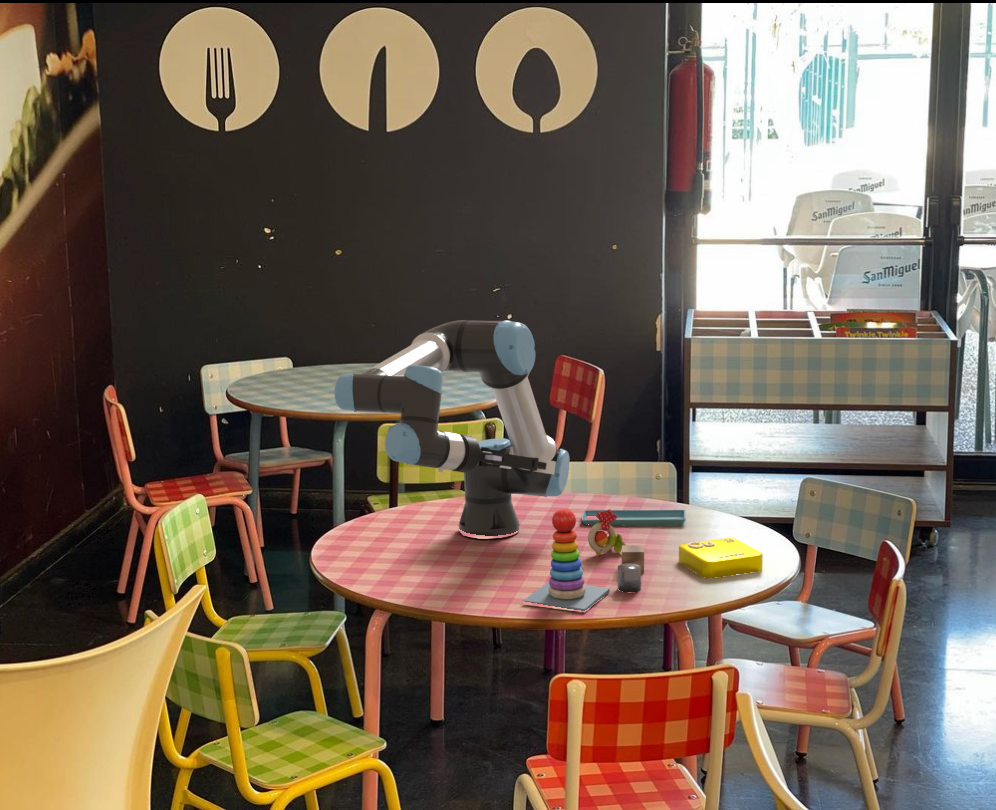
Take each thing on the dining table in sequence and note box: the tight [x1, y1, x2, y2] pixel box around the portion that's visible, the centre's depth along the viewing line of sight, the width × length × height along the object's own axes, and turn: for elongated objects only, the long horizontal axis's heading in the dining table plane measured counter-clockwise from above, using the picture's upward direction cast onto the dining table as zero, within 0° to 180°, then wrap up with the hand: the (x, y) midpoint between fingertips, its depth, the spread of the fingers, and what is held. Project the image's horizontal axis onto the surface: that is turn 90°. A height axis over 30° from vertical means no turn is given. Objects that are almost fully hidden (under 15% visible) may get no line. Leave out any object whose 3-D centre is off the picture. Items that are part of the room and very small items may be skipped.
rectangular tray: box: [581, 509, 687, 527], centre depth 340 cm, size 26×9×2 cm, turn 83°
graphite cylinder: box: [617, 563, 642, 593], centre depth 289 cm, size 5×5×5 cm
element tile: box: [678, 537, 764, 579], centre depth 303 cm, size 15×15×5 cm
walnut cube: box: [621, 544, 645, 574], centre depth 302 cm, size 5×5×5 cm
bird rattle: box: [587, 509, 627, 556], centre depth 314 cm, size 6×11×9 cm
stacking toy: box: [548, 508, 586, 599], centre depth 282 cm, size 8×8×19 cm
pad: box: [522, 581, 611, 611], centre depth 284 cm, size 14×14×1 cm
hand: (532, 465), depth 282 cm, fingers open, 13 cm apart
